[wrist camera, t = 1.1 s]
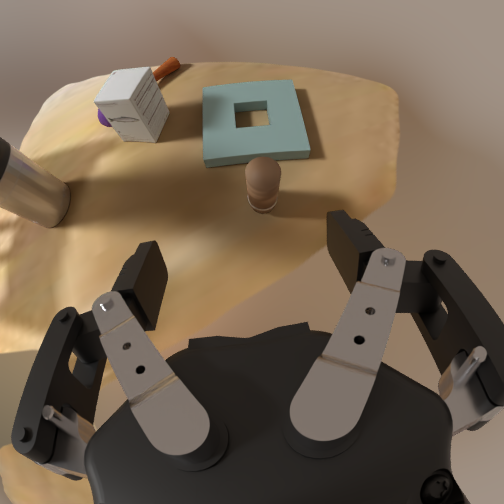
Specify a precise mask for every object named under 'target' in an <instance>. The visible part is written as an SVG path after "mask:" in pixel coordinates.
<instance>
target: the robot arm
mask: <svg viewBox="0 0 504 504" xmlns="http://www.w3.org/2000/svg"><path fill="white" fill-rule="evenodd" d="M69 203H70V190H69V188H68V186H67V185H66V184H65V183H63V182H62V181H60V180H59V179H58V178H56V177H55V176H53V175H52V174H51V173H49V172H48V171H46V170H45V169H43V168H42V167H41V166H39V165H38V164H36V163H35V162H34V161H32V160H31V159H29V158H28V157H27V156H25V155H24V154H23V153H21V152H20V151H18V150H17V149H16V148H14V147H13V146H11V145H10V144H9V143H8V142H6V141H5V140H3V139H2V138H1V137H0V207H1V208H3V209H5V210H7V211H10V212H12V213H14V214H16V215H19V216H21V217H23V218H25V219H28V220H30V221H32V222H34V223H37V224H39V225H41V226H44V227H46V228H51V227H54V226H56V225H57V224H58V223H59V222H60V221H61V220H62V219H63V217H64V216H65V214H66V212H67V209H68V207H69ZM327 247H328V251H329V254H330V256H331V258H332V260H333V261H334V263H335V265H336V267H337V269H338V270H339V273H340V274H341V276H342V278H343V280H344V282H345V284H346V286H347V288H348V290H349V292H350V294H351V296H350V298H349V301H348V303H347V305H346V307H345V309H344V311H343V314H342V316H341V318H340V320H339V322H338V324H337V326H336V328H335V330H334V332H333V334H331V333H327V332H322V331H313V330H310V329H309V325H308V322H304V323H299V324H294V325H288V326H282V327H277V328H275V329H272V330H270V331H267V332H264V333H262V334H258V335H256V336H253V337H250V338H235V337H222V336H213V337H204V338H195V339H189V345H188V348H187V349H184V350H182V351H179V352H177V353H175V354H173V355H172V356H170V357H169V358H168V359H166V360H164V359H163V357H162V356H161V355H160V353H159V352H158V350H157V349H156V348H155V346H154V345H153V343H152V342H151V340H150V339H149V338H148V336H147V335H146V333H145V331H152V330H155V328H156V324H157V319H158V315H159V311H160V307H161V303H162V299H163V296H164V292H165V288H166V284H167V281H168V272H167V268H166V265H165V262H164V260H163V257H162V254H161V252H160V249H159V246H158V244H157V242H156V241H149V242H144V243H140V244H139V246H138V248H137V250H136V252H135V254H134V255H132V256H131V257H130V258H129V259H128V260H127V261H126V262H125V264H124V265H123V267H122V270H121V271H120V273H119V276H118V277H117V279H116V282H115V284H114V286H113V288H112V290H111V292H107V293H105V294H103V295H101V296H100V297H98V298H97V299H96V300H95V302H94V303H93V305H92V310H91V311H88V312H86V313H83V314H80V315H79V313H78V312H77V310H76V309H75V308H74V307H67V308H64V309H62V310H61V311H59V312H58V313H57V314H56V315H55V317H54V318H53V320H52V322H51V324H50V327H49V329H48V331H47V333H46V335H45V337H44V340H43V342H42V344H41V346H40V349H39V351H38V354H37V356H36V359H35V361H34V363H33V366H32V369H31V371H30V374H29V377H28V380H27V382H26V386H25V388H24V391H23V395H22V397H21V400H20V404H19V407H18V411H17V414H16V418H15V422H14V425H13V430H12V435H11V438H12V444H13V447H14V448H15V450H16V451H17V452H19V453H20V454H22V455H24V456H25V457H27V458H29V459H31V460H32V461H34V462H35V463H36V464H38V465H40V466H42V467H44V468H46V469H48V470H50V471H52V472H54V473H56V474H59V475H62V476H65V477H67V478H69V479H72V480H81V479H82V478H87V479H88V480H89V483H90V486H91V490H92V494H93V500H94V504H470V502H469V501H468V499H467V498H466V496H465V495H464V493H463V492H462V491H461V489H460V488H459V486H458V484H457V483H456V481H455V479H454V477H453V475H452V471H451V461H450V450H451V440H452V436H454V435H456V434H458V433H460V432H462V431H463V430H466V429H467V430H470V431H475V430H478V429H479V428H481V427H482V426H484V425H485V424H486V423H487V422H488V421H490V420H491V419H492V418H493V417H495V416H496V415H497V414H498V413H499V412H500V411H502V410H503V409H504V324H503V322H502V321H501V319H500V318H499V316H498V315H497V314H496V312H495V311H494V309H493V308H492V307H491V305H490V304H489V302H488V301H487V300H486V298H485V297H484V296H483V294H482V293H481V292H480V291H479V289H478V288H477V287H476V285H475V284H474V283H473V282H472V281H471V279H470V278H469V277H468V276H467V274H466V273H464V271H463V270H462V269H461V267H460V266H459V265H458V264H457V263H456V262H455V260H454V259H453V258H452V257H451V256H450V255H448V254H447V253H445V252H443V251H440V250H429V251H427V252H426V253H425V254H424V257H423V261H407V260H406V259H405V257H404V256H403V254H402V253H400V252H399V251H397V250H395V249H391V248H385V247H384V246H383V245H382V243H381V242H380V241H379V240H378V239H377V238H376V236H375V235H373V233H372V232H371V231H370V230H369V228H368V227H367V226H366V225H365V224H364V223H363V222H361V221H359V220H357V219H351V218H350V217H349V216H348V214H347V213H346V212H345V211H344V210H338V211H331V212H328V213H327ZM442 301H443V302H444V304H445V305H446V307H447V310H448V314H447V312H446V311H445V309H444V308H443V307H442V305H441V302H442ZM395 313H411V315H412V317H413V319H414V321H415V323H416V324H417V326H418V328H419V330H420V332H421V334H422V336H423V338H424V340H425V342H426V344H427V346H428V348H429V350H430V352H431V354H432V356H433V358H434V360H435V362H436V365H437V367H438V369H439V371H440V373H441V378H440V380H439V383H438V389H439V393H440V395H438V394H437V393H435V392H434V391H432V390H430V389H428V388H427V387H425V386H423V385H421V384H420V383H418V382H416V381H414V380H412V379H411V378H409V377H407V376H406V375H404V374H402V373H400V372H399V371H397V370H395V369H393V368H392V367H390V366H388V365H387V364H385V363H383V362H381V360H382V357H383V354H384V350H385V348H386V344H387V341H388V338H389V334H390V331H391V327H392V323H393V320H394V316H395ZM72 352H73V353H74V354H75V355H76V357H77V361H76V364H75V367H74V370H73V374H72V373H71V372H70V370H69V366H68V362H69V358H70V355H71V353H72ZM107 357H108V360H109V362H110V364H111V366H112V368H113V370H114V372H115V375H116V377H117V379H118V381H119V383H120V385H121V386H122V389H123V391H124V392H125V394H126V396H127V398H128V399H127V400H126V401H125V402H124V404H123V405H122V406H121V407H120V408H119V409H118V410H117V411H116V412H115V413H114V414H113V415H112V416H111V417H110V418H109V419H108V420H107V421H106V422H105V423H104V424H103V425H102V426H101V427H100V428H99V429H98V430H97V431H95V429H94V427H93V422H94V416H95V411H96V405H97V400H98V395H99V390H100V386H101V381H102V377H103V372H104V368H105V364H106V360H107Z"/></svg>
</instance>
